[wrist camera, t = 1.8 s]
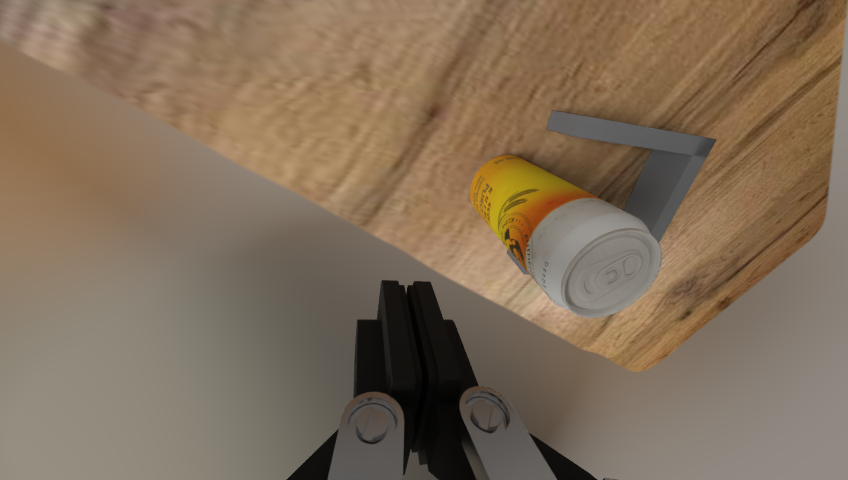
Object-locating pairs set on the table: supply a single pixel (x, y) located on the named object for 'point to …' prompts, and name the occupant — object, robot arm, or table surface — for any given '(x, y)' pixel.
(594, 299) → the beer can
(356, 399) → the robot arm
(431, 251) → the table surface
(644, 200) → the corral
